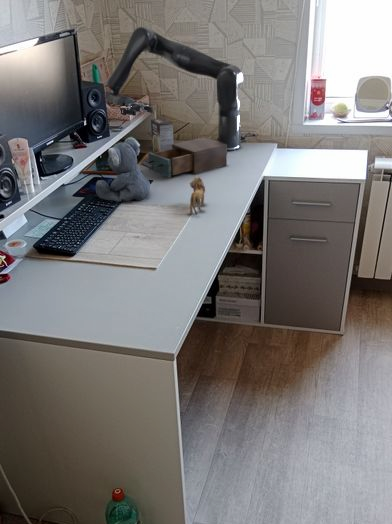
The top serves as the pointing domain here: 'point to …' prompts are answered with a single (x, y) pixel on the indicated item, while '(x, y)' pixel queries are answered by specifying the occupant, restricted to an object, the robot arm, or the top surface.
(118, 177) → the koala plush
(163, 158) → the drawer
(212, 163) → the cabinet
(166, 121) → the coffee box
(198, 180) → the lion figurine
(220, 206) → the top surface
